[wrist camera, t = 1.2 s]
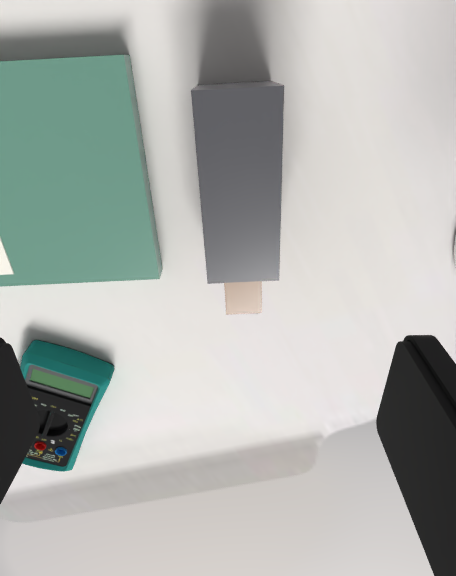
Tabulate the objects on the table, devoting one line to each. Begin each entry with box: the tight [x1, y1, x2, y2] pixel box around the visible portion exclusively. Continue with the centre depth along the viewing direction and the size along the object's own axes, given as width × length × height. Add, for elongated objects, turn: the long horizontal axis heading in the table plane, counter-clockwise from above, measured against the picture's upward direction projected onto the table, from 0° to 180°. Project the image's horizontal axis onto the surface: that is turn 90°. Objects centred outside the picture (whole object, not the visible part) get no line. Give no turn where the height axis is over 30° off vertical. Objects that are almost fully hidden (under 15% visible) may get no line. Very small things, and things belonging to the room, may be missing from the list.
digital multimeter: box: [20, 340, 114, 471], centre depth 36 cm, size 7×15×3 cm, turn 155°
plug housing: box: [191, 81, 284, 315], centre depth 24 cm, size 4×14×6 cm, turn 3°
